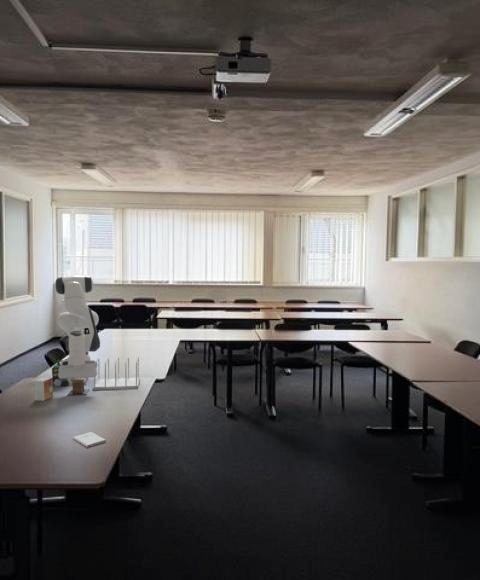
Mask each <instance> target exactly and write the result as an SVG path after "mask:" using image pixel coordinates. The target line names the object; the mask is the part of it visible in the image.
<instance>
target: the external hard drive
mask: <svg viewBox="0 0 480 580" xmlns="http://www.w3.org/2000/svg"><path fill="white" fill-rule="evenodd" d="M72 440H74V441H76V442H78V443H79V444H80V443H81V445H82V446H84V447H85V446H86V447H85V448H87V447H88V448H90V447H89V446H91V447H94V446H97V444H98V445H101V444H103V443H107V440H106V439H105V438H103V437H101V436H100V435H98V434H96V433H94V432H92V431H89V432H86V433H82V434H78V435H76V436H75V435H74V436H73V439H72ZM100 443H101V444H100ZM93 445H94V446H93Z"/></svg>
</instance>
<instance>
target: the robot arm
mask: <svg viewBox="0 0 480 580" xmlns="http://www.w3.org/2000/svg"><path fill="white" fill-rule="evenodd" d="M93 280H94V279H92V277H91V276H90V275H71V276H69V275H68V276H64V277H63V276H60V277H57V278H56V279H55V281H54V289H55V292H56V294H59V295H64V296H63V300H64V301H63V302H64V309H65V310H66V311H64V312H60V313H59V314H58V316H57V317H56V322H57V326H59V328H60V329H62V330H63V331H64V332H65V333H66V334H67V336H68V337H67V338H66V339H65V343H66V345H65V346H66V347H65V349H66V351H67V352H68V357H67V358H64V359H61V360H62V361H61V362H60V365H61V366H60V368H59V373H58V377H59V378H60V379H63V378H68V381H69V383H70V385H69V386H70V387H72V382H71V378H72V379H84V382H83V384H84V385H83V386H84V387H85V386H87V384H88V383H87V382H88V381H89V379H90V378H94V377H95V378H96V377H97V376H98V369H97V368H98V361H97V362H96V360H93V359H92V360H91V355H90V354H89V353H90V352H92V353H93V352H97V351H98V350H99V349H100V348H101V338H100V337H99V334H98V329H97V325H98V324H99V320H100V319H99V318H100V317H99V315H98V313H97V312H96V311H94V310H92V309H91V308H90V307H89V306H88V304H87V302H86V294H88V293H90V292H92V291H93V288H94V281H93ZM87 328H88V332H89V333H88V334H85V332H84V331H82V330H78V329H87Z"/></svg>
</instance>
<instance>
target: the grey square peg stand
mask: <svg viewBox="0 0 480 580" xmlns="http://www.w3.org/2000/svg"><path fill="white" fill-rule="evenodd" d="M90 391H91V389H90V388H88V389H85V388H84V392H83V393H73V390H72V389H71V390H69V392H68V393H67V395H66V396H67V397H73V396H75V397H76V396H87V395H88V394H89V392H90Z"/></svg>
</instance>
